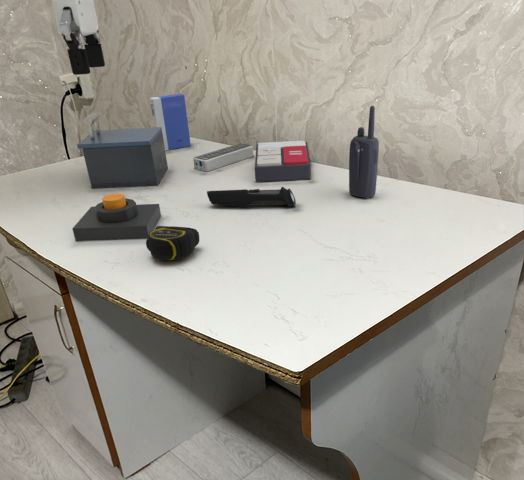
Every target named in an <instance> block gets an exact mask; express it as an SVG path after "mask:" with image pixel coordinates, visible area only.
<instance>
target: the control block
mask: <svg viewBox="0 0 524 480" xmlns="http://www.w3.org/2000/svg"><path fill="white" fill-rule="evenodd" d="M125 200H126V205H127V206H125V207H123V208H119V209H113V210H107V209H104V205H103V201H101V202H99V203H97V204H96V205H95V206H90V207H89V209H88V210H87V211H86V212H85V213H84V215H83V216H82V217H81V218H79V220H78V221H77V223H76V224H75V225H74V226H73V227H72V233H73V236H74V240H75V242H90V241H91V242H96V241H117V240H118V241H119V240H120V241H122V240H123V241H124V240H147V238H148V235H149V233H150V232H151V231H153V230H155V228H156V227H157V225H158V223H159V221H160V219H161V217H162V212H161V207H160V203H145V204H144V203H143V204H137V202H136V201H135V200H134V199H132V198H127V197H125Z"/></svg>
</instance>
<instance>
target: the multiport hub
mask: <svg viewBox="0 0 524 480" xmlns="http://www.w3.org/2000/svg"><path fill="white" fill-rule="evenodd" d="M253 157H254V145H253V144H246V143H242V142H239V143H236V144H232V145H230V146H226V147H223V148H220V149H217V150H213V151H210V152H207V153H204V154H200V155H197V156H194V157H193V158H192V159H193V169H194V170H198V171H201V172H206V173H207V172H211V171H214V170H217V169H219V168H223V167H225V166H228V165H231V164H235V163H237V162H241V161H244V160H247V159H249V158H253Z"/></svg>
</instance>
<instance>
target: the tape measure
mask: <svg viewBox="0 0 524 480" xmlns="http://www.w3.org/2000/svg"><path fill="white" fill-rule="evenodd" d="M145 240H146V241H145V247H146V248H147V250H148V251H149V252H150V255H151V257H153V258H154V259H156V260H160V261H161V260H162V261H178V260H181V259H184V258H187V257H189V256H190V255H192V254H193V252H194V251H195V248H196V247H197V246H198V245H199V243H200V232H199V231H198V230H197V229H196V228H194V227H185V226H175V225H173V226H168V225H167V226H166V225H156V226H155V228H154V230H153V231H151V232H150V233H149V235H148V238H147V239H145Z"/></svg>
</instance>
